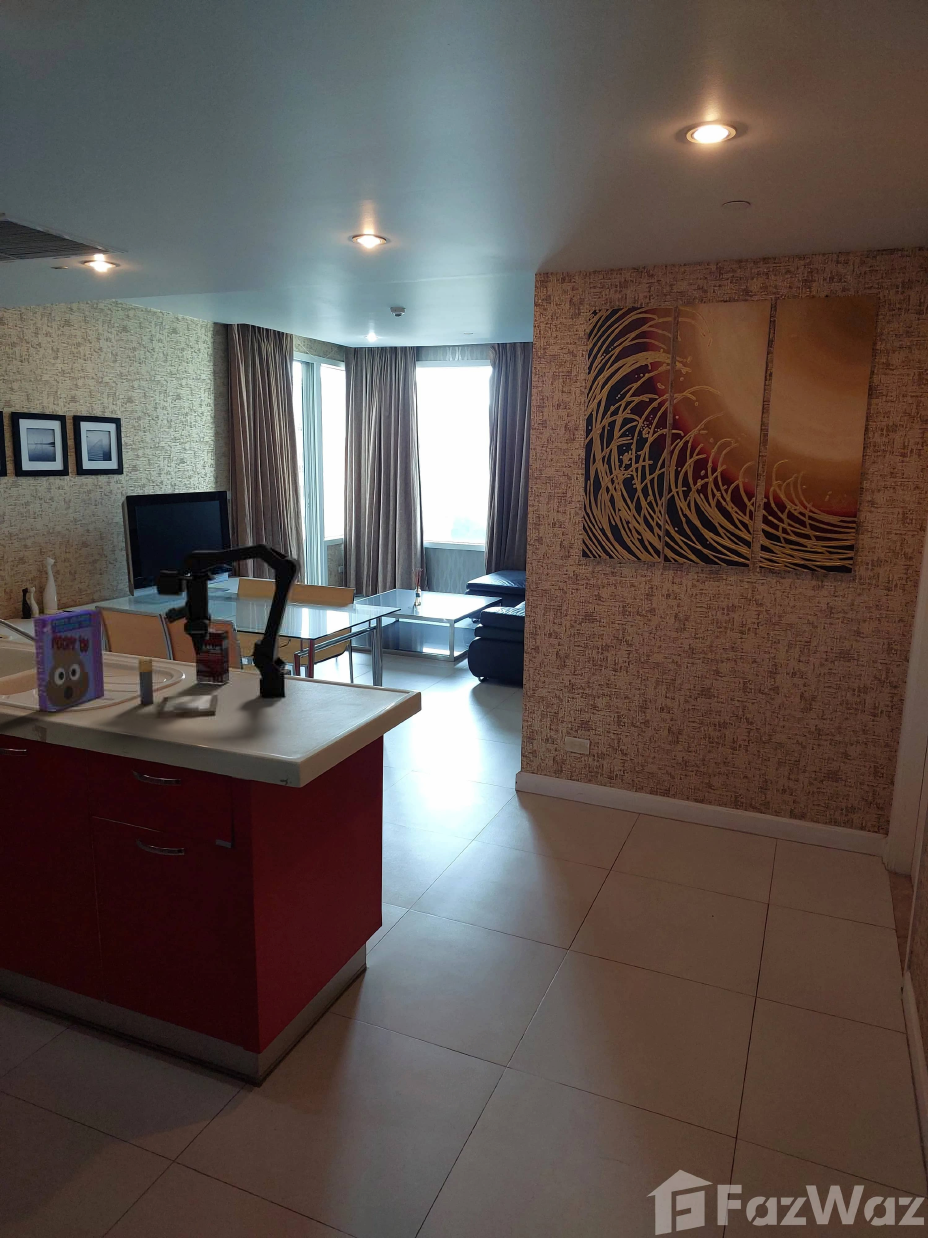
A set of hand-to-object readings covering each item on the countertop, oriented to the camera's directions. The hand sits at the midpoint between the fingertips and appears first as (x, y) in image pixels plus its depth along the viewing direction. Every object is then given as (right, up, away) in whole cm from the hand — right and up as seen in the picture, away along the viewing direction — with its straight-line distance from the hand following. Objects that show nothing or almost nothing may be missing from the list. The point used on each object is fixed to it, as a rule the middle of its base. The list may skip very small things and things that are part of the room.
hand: (198, 651), depth 225 cm
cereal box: (-30, -13, -11) cm, 35 cm away
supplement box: (0, -10, +14) cm, 17 cm away
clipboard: (+2, -14, -13) cm, 19 cm away
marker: (-11, -14, -10) cm, 20 cm away
